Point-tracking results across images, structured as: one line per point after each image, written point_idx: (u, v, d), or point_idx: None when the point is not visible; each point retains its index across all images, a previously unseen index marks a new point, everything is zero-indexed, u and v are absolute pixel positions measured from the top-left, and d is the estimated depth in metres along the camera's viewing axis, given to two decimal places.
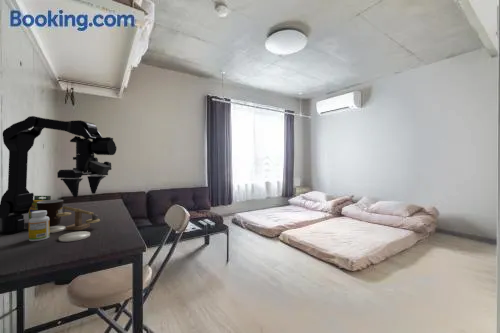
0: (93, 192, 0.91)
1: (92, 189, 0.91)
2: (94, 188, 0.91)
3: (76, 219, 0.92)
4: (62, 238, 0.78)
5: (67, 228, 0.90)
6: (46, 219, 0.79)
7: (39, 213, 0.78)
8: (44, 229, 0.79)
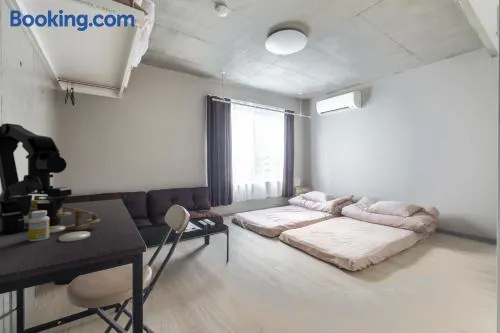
0: None
1: None
2: None
3: (76, 219, 0.92)
4: (62, 238, 0.78)
5: (67, 228, 0.90)
6: (46, 219, 0.79)
7: (39, 213, 0.78)
8: (44, 229, 0.79)
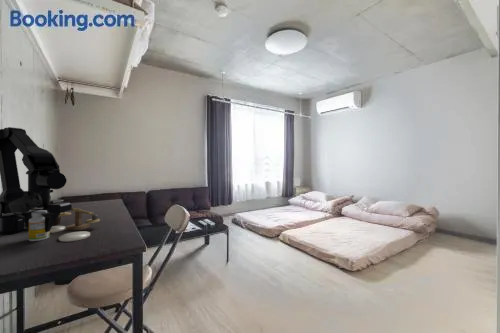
0: None
1: None
2: None
3: (76, 219, 0.92)
4: (62, 238, 0.78)
5: (67, 228, 0.90)
6: None
7: (39, 213, 0.78)
8: (44, 229, 0.79)
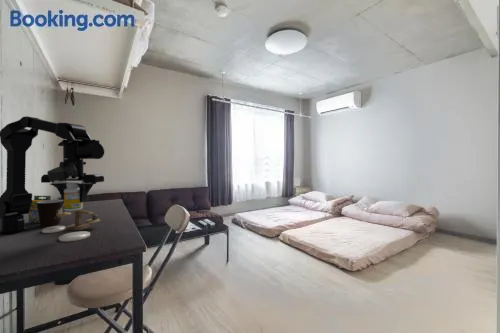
0: None
1: None
2: None
3: (76, 219, 0.92)
4: (62, 238, 0.78)
5: (67, 228, 0.90)
6: None
7: (74, 183, 0.80)
8: (78, 200, 0.80)
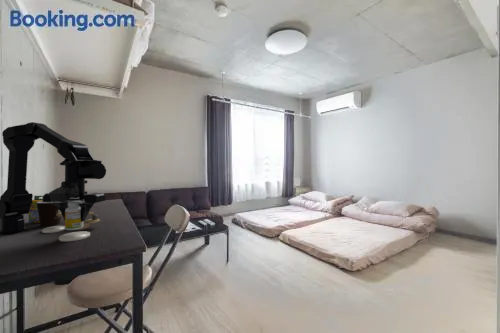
0: None
1: None
2: None
3: None
4: (62, 238, 0.78)
5: None
6: None
7: (75, 203, 0.80)
8: (79, 219, 0.81)
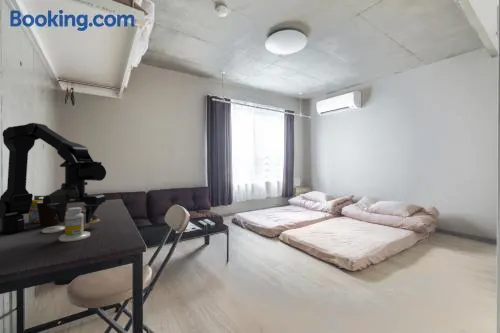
0: None
1: None
2: None
3: None
4: (62, 238, 0.78)
5: None
6: (81, 216, 0.82)
7: (75, 210, 0.80)
8: (79, 226, 0.81)
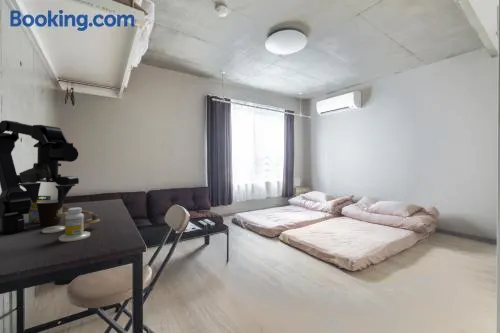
0: None
1: None
2: None
3: None
4: (62, 238, 0.78)
5: None
6: (81, 216, 0.81)
7: (75, 210, 0.80)
8: (79, 226, 0.81)
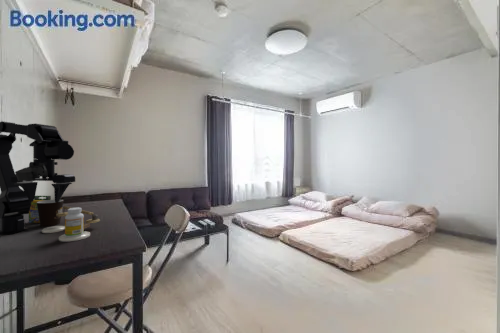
0: None
1: None
2: None
3: None
4: (62, 238, 0.78)
5: None
6: (81, 216, 0.81)
7: (75, 210, 0.80)
8: (79, 226, 0.81)
